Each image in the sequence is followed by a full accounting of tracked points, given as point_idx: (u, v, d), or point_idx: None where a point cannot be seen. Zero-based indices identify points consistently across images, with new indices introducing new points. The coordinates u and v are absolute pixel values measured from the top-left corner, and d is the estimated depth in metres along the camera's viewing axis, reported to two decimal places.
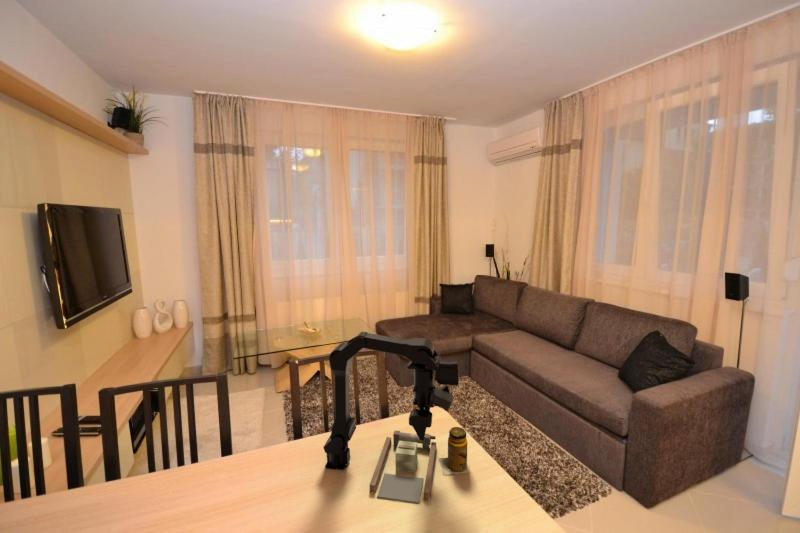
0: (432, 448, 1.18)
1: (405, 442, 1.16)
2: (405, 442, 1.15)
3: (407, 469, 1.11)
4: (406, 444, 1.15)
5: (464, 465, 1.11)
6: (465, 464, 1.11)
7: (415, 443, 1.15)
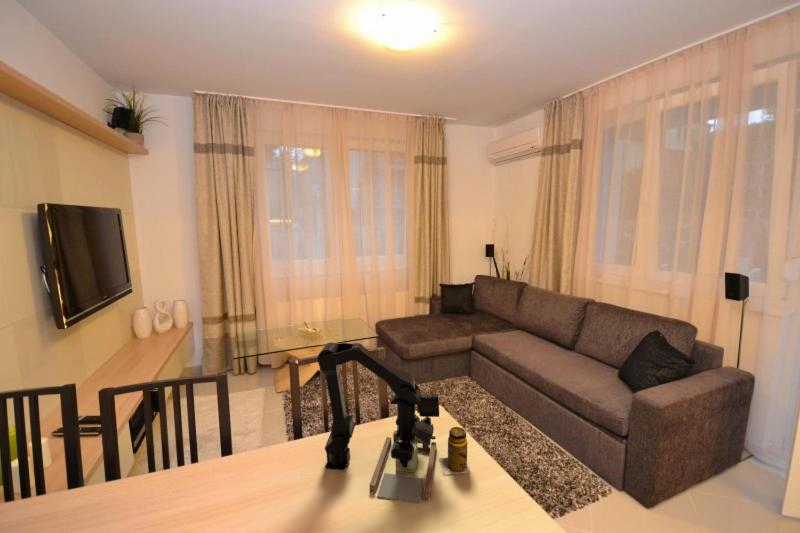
0: (432, 448, 1.18)
1: None
2: None
3: (407, 469, 1.11)
4: None
5: (464, 465, 1.11)
6: (465, 464, 1.11)
7: (415, 443, 1.15)
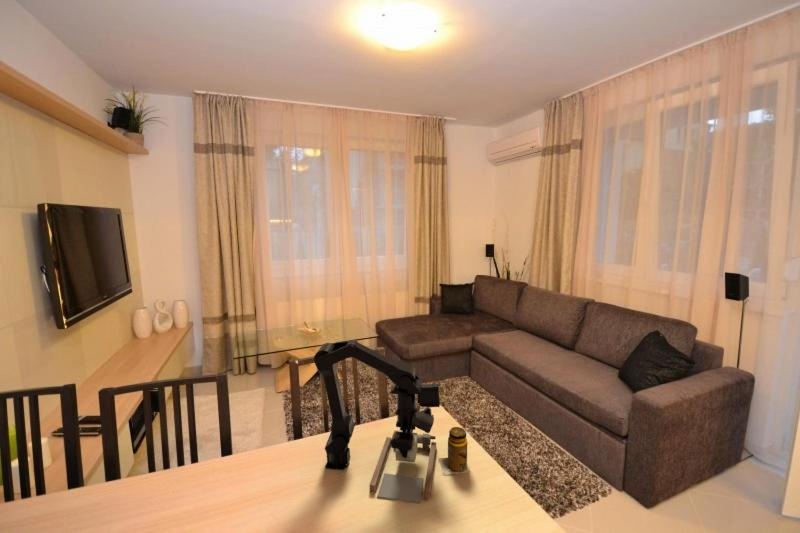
0: (432, 448, 1.18)
1: None
2: None
3: (407, 459, 1.10)
4: None
5: (464, 465, 1.11)
6: (465, 464, 1.11)
7: (415, 434, 1.14)
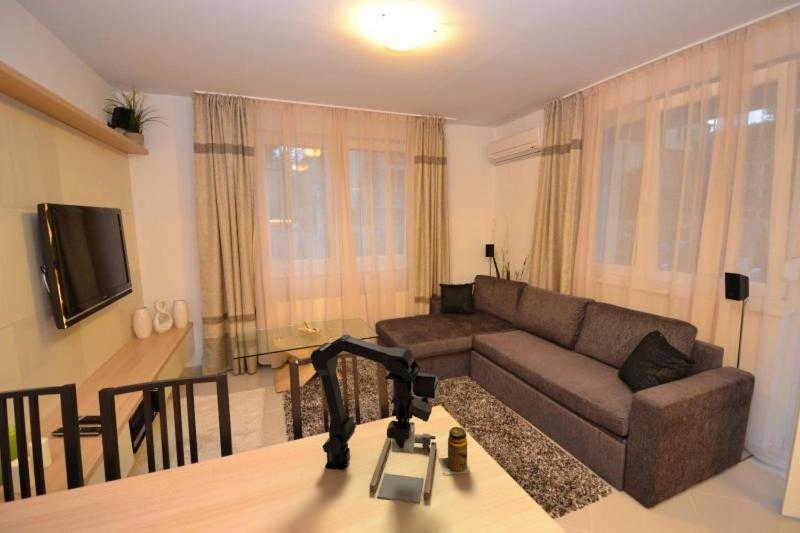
0: (432, 448, 1.18)
1: None
2: None
3: (404, 450, 1.04)
4: None
5: (464, 465, 1.11)
6: (465, 464, 1.11)
7: (412, 423, 1.08)
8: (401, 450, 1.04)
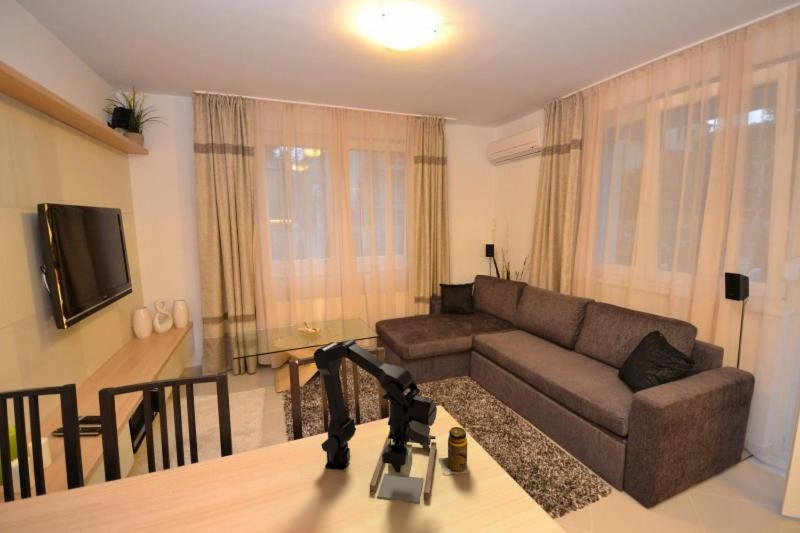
0: (432, 448, 1.18)
1: None
2: None
3: (401, 474, 1.00)
4: None
5: (464, 465, 1.11)
6: (465, 464, 1.11)
7: (410, 445, 1.04)
8: (398, 474, 1.00)
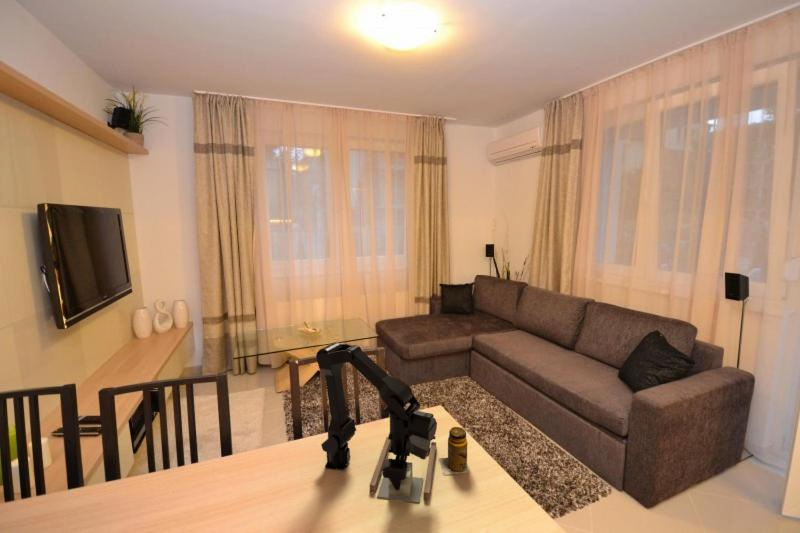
0: (432, 448, 1.18)
1: None
2: None
3: (401, 493, 1.01)
4: None
5: (464, 465, 1.11)
6: (465, 464, 1.11)
7: (410, 463, 1.05)
8: (398, 492, 1.01)
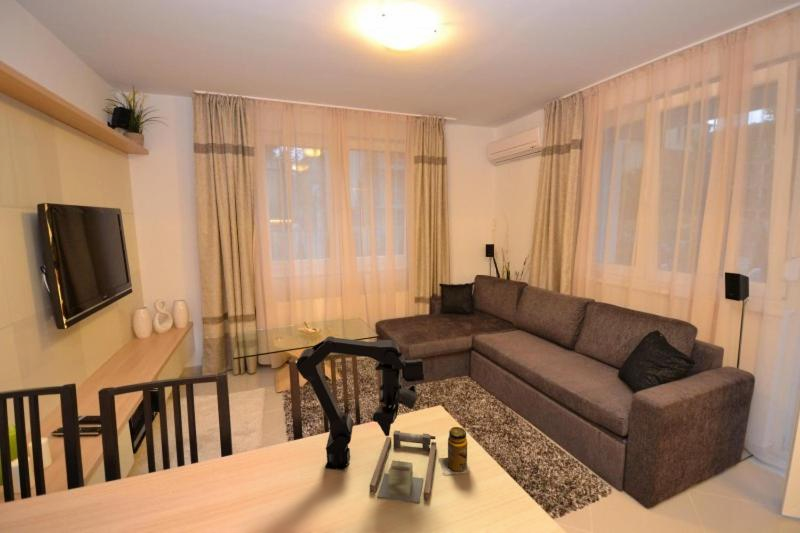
0: (432, 448, 1.18)
1: (399, 462, 1.06)
2: (400, 463, 1.06)
3: (401, 493, 1.01)
4: (400, 464, 1.05)
5: (464, 465, 1.11)
6: (465, 464, 1.11)
7: (410, 463, 1.05)
8: (398, 492, 1.01)
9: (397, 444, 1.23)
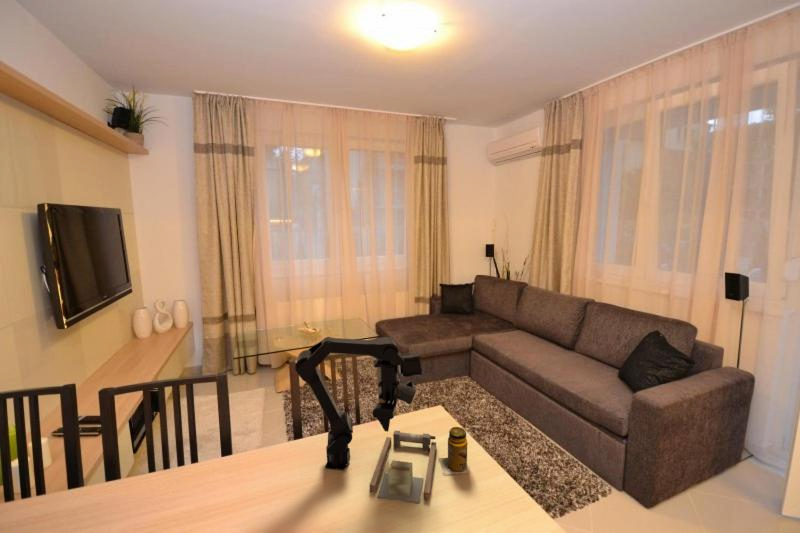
0: (432, 448, 1.18)
1: (399, 462, 1.06)
2: (400, 463, 1.06)
3: (401, 493, 1.01)
4: (400, 464, 1.05)
5: (464, 465, 1.11)
6: (465, 464, 1.11)
7: (410, 463, 1.05)
8: (398, 492, 1.01)
9: (397, 444, 1.23)
